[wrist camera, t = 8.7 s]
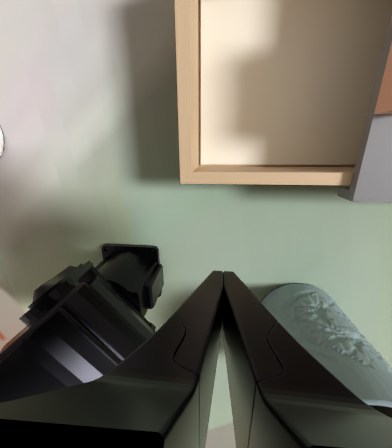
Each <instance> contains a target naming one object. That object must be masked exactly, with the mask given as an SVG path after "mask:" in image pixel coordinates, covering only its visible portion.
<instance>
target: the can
mask: <svg viewBox="0 0 392 448" xmlns="http://www.w3.org/2000/svg"><path fill="white" fill-rule="evenodd" d="M4 144H5V142H4V135H3V131H2V128H1V126H0V156H1V155H2V153H3V150H4Z"/></svg>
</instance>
